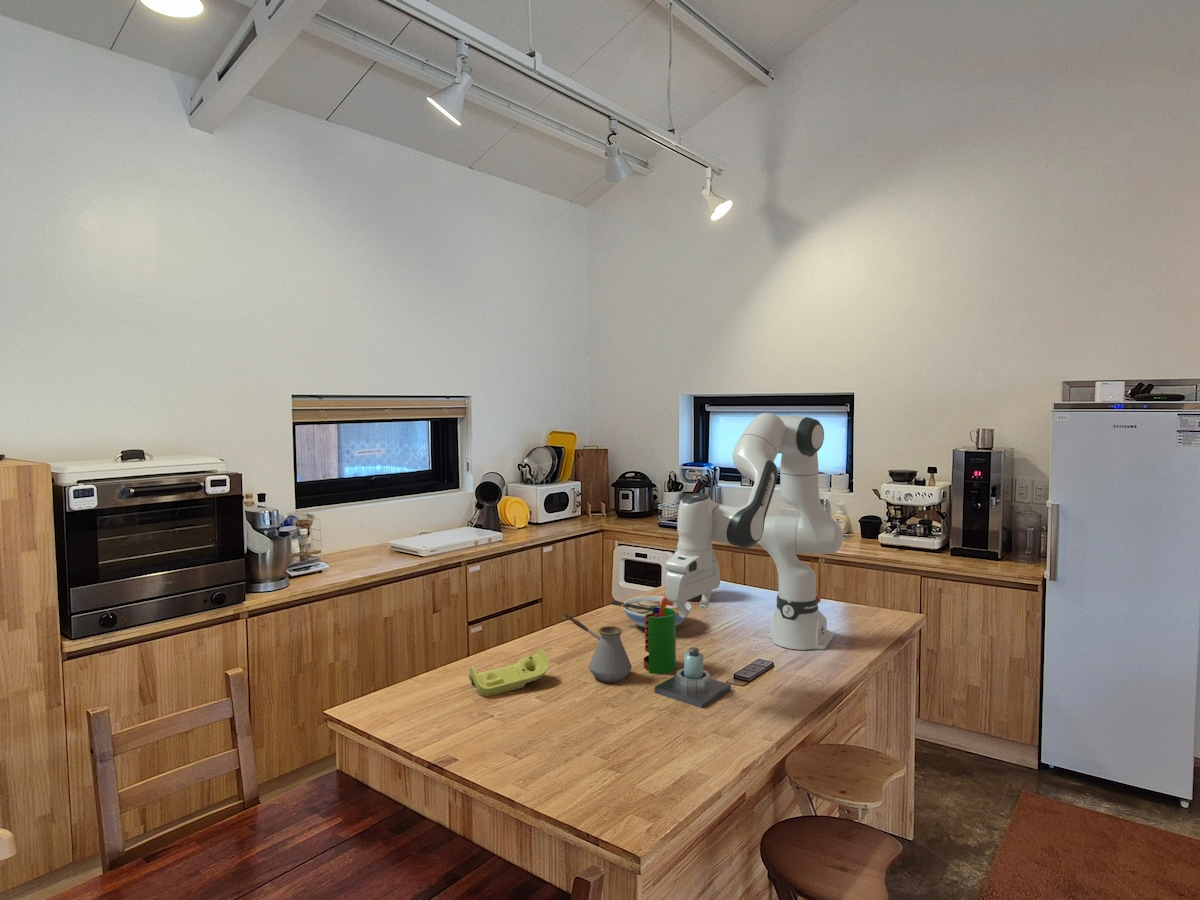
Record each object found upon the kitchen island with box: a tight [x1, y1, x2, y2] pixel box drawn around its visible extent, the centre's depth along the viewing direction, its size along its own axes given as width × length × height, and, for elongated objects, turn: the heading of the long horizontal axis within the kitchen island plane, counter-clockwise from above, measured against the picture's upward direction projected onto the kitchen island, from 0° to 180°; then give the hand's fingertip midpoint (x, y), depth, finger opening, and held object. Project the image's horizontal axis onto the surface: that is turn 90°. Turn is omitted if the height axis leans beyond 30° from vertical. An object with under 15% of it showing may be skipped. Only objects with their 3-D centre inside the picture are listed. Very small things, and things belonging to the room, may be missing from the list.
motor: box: [643, 595, 677, 675], centre depth 198 cm, size 10×9×20 cm
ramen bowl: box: [611, 595, 692, 628], centre depth 234 cm, size 25×23×8 cm
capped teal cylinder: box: [683, 646, 704, 679], centre depth 182 cm, size 5×5×10 cm
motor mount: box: [654, 668, 732, 709], centre depth 183 cm, size 14×14×4 cm
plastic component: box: [468, 649, 550, 697], centre depth 187 cm, size 20×7×10 cm
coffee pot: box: [560, 612, 632, 683], centre depth 194 cm, size 21×12×15 cm, turn 58°
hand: (694, 612), depth 181 cm, fingers open, 8 cm apart
